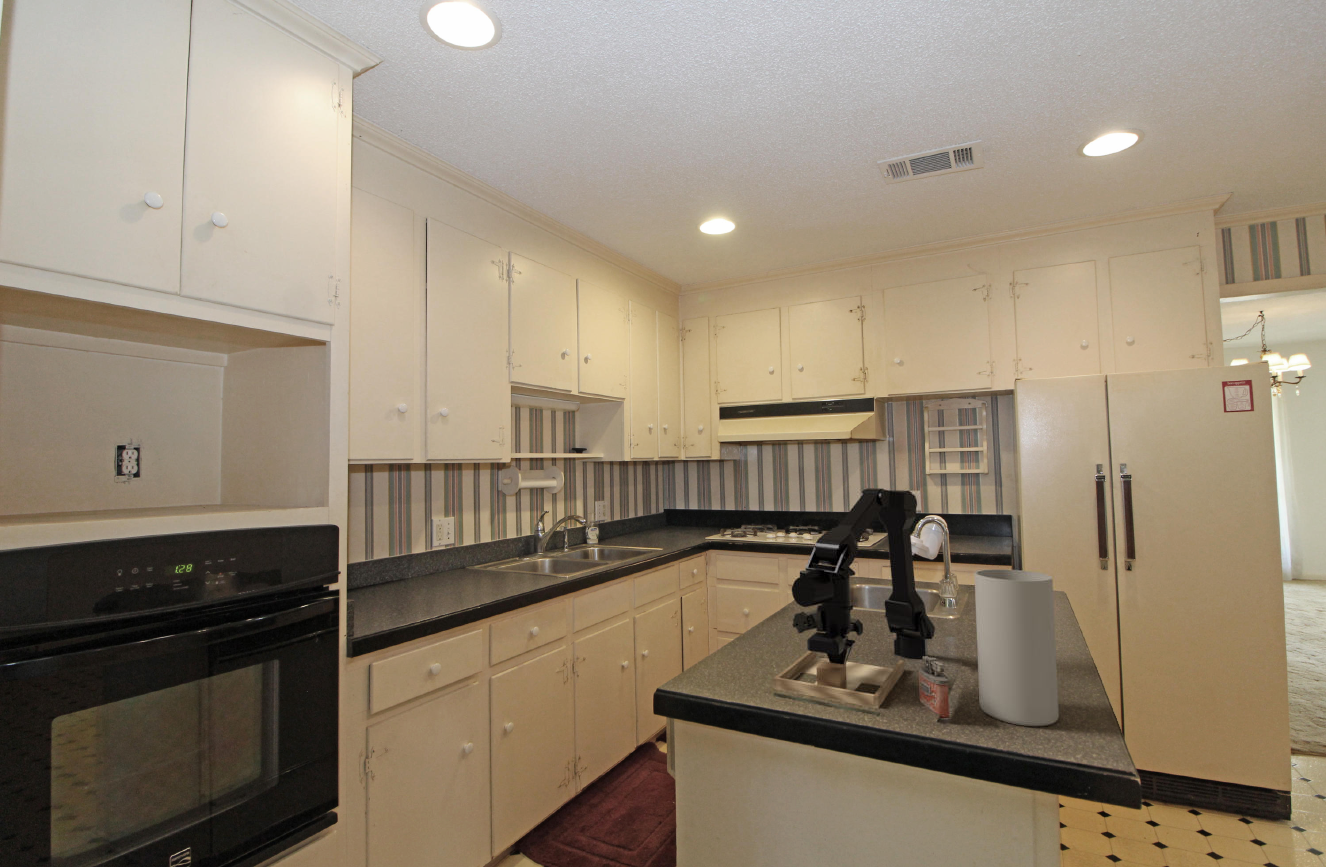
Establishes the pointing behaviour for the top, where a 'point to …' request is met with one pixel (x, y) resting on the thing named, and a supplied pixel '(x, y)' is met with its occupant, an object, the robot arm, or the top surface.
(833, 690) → the box
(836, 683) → the block
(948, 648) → the top surface
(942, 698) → the lighter
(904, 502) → the robot arm
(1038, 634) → the cylinder vase
